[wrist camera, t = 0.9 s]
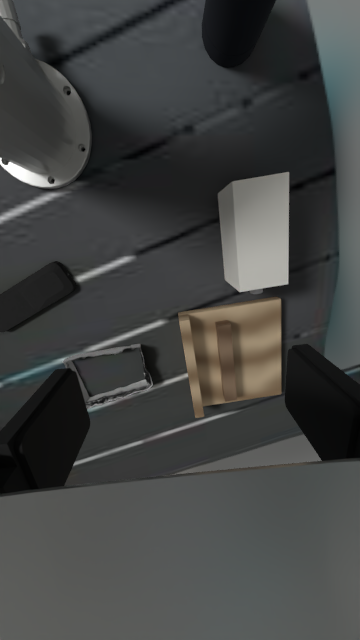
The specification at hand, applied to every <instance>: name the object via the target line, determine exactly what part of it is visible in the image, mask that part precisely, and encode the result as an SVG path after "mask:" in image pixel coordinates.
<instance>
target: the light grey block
mask: <svg viewBox="0 0 360 640" xmlns="http://www.w3.org/2000/svg"><path fill="white" fill-rule="evenodd" d="M218 205H219V216H220V228H221V239H222V250H223V262H224V273H225V280H226V281H227V282H228V283H229V284H231V285H232V286H233V287H234V288H235V289H237V290H238V291H239V292H243V291H250V293H251V294H260V293H262V292H263V288H268V287H274V286H280V285H286V284H288V260H289V172H285V173H279V174H273V175H267V176H261V177H255V178H249V179H244V180H238V181H232V182H231V183H230V184H229V185H227V186H226V187H225V188H224V189H223V190H221V191H220V192H219V193H218Z"/></svg>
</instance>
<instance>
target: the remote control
mask: <svg viewBox="0 0 360 640" xmlns="http://www.w3.org/2000/svg"><path fill="white" fill-rule="evenodd" d="M76 286H77V285H76V283H75V281H74V280H73V278H72V277H71V276H70V274H69V273H68V272H67V270H66V269H65V267H64V266H63V265H62V264H61V263H60V262H57V261H55V262H52V263H50V264H48V265H46V266H45V267H43V268H42V269H40V270H38V271H37V272H35V273H34V274H32V275H31V276H29V277H27V278H26V279H24V280H23V281H21V282H19V283H18V284H16V285H15V286H13V287H11V288H10V289H8V290H7V291H5V292H3V293H2V294H0V332H5V331H7V330H9V329H11V328H13V327H14V326H16V325H18V324H19V323H21V322H23V321H24V320H26V319H28V318H29V317H31V316H33V315H34V314H36V313H38V312H39V311H41V310H43V309H44V308H46V307H48V306H49V305H51V304H53V303H54V302H56V301H58V300H59V299H61V298H63V297H64V296H66V295H68V294H69V293H71V292H73V291H74V290H75V289H76Z"/></svg>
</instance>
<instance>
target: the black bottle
mask: <svg viewBox="0 0 360 640" xmlns="http://www.w3.org/2000/svg"><path fill="white" fill-rule="evenodd" d="M275 1H276V0H206V2H205V8H204V15H203V21H202V38H203V42H204V46H205V49H206V51H207V53H208V55H209V56H210V58H211V59H212V60H213V61H214V62H216V63H217V64H218V65H221V66H223V67H235V66H237V65H239V64H241V63H243V62H244V61H245V60H246V59H247V58H248V57H249V56H250V54H251V52H252V50H253V49H254V47H255V45H256V42H257V40H258V38H259V36H260V34H261V32H262V29H263V27H264V25H265V23H266V21H267V18H268V16H269V14H270V12H271V10H272V8H273V5H274V3H275Z"/></svg>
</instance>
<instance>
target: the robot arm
mask: <svg viewBox="0 0 360 640" xmlns="http://www.w3.org/2000/svg"><path fill="white" fill-rule="evenodd" d="M20 30H21V27H20V23H19V20H18V16H17V13H16V9H15V6H14V2H13V1H12V0H0V165H1V166H2V167H3V168H4V169H5V170H6V171H7V172H9V173H10V174H11V175H12V176H13V177H15V178H17V179H18V180H20V181H22V182H24V183H26V184H29V185H31V186H34V187H38V188H43V189H56V188H61V187H63V186H66V185H68V184H70V183H71V182H73V181H75V180H76V179H77V178H78V177H79V175H80V174H81V173H82V172H83V170H84V168H85V167H86V165H87V162H88V160H89V157H90V153H91V147H92V132H91V125H90V120H89V117H88V114H87V111H86V108H85V106H84V104H83V102H82V100H81V98H80V97H79V95H78V94H77V92H76V90H75V89H74V87H73V86H72V85H71V84H70V83H69V81H68V80H67V79H66V78H65V77H64V76H63V75H62V74H61V73H60V72H59V71H57V70H56V69H55V68H53V67H52V66H50V65H48V64H47V63H45V62H42V61H40V60H37V59H35V58H34V57H33V55H32V54H31V51H30V48H29V45H28V43H27V42H26V41H24V40H23V37H22V34H21V31H20ZM69 93H71V94H70V95H69V96H68V94H69ZM83 148H85V151H84V152H83V151H82V149H83ZM8 162H9V164H8ZM54 179H55V182H54V183H53V180H54ZM285 404H286V407H287V409H288V411H289V412H290V414H291V415H292V417H293V418H294V420H295V421H296V423H297V424H298V426H299V427H300V429H301V430H302V432H303V433H304V435H305V436H306V437H307V439H308V440H309V442H310V443H311V445H312V446H313V448H314V449H315V451H316V452H317V454H318V455H319V457H320V458H321V460H322V461H314V462H303V463H292V464H281V465H270V466H260V467H248V468H239V469H228V470H217V471H207V472H196V473H186V474H176V475H166V476H156V477H146V478H136V479H127V480H117V481H108V482H98V483H89V484H79V485H70V486H64V484H65V482H66V480H67V478H68V475H69V473H70V471H71V469H72V466H73V464H74V462H75V460H76V457H77V455H78V453H79V450H80V448H81V446H82V444H83V441H84V439H85V437H86V435H87V432H88V430H89V427H90V418H89V415H88V411H87V408H86V404H85V401H84V397H83V394H82V390H81V387H80V383H79V380H78V376H77V373H76V372H75V371H72V369H71V368H66V369H57V370H55V371H54V372H53V373H52V374H51V375H50V376H49V378H48V379H47V380H46V381H45V382H44V383H43V384H42V385H41V386H40V388H39V389H38V390H37V391H36V392H35V393H34V394H33V395H32V397H31V398H30V399H29V400H28V401H27V402H26V403H25V404H24V405H23V407H22V408H21V409H20V410H19V411H18V412H17V413H16V414H15V416H14V417H13V418H12V419H11V420H10V421H9V422H8V423H7V424H6V426H5V427H4V428H3V429H2V430H1V431H0V640H360V385H359V384H358V383H357V382H356V381H354V380H353V379H352V378H350V377H349V376H348V375H347V374H345V373H344V372H343V371H342V370H340V369H339V368H338V367H336V366H335V365H334V364H332V363H331V362H330V361H329V360H327V359H326V358H325V357H324V356H322V355H321V354H320V353H319V352H317V351H316V350H315V349H313V348H312V347H311V346H310V345H308V344H303V345H293V346H292V349H289V350H288V358H287V374H286V390H285Z"/></svg>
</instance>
